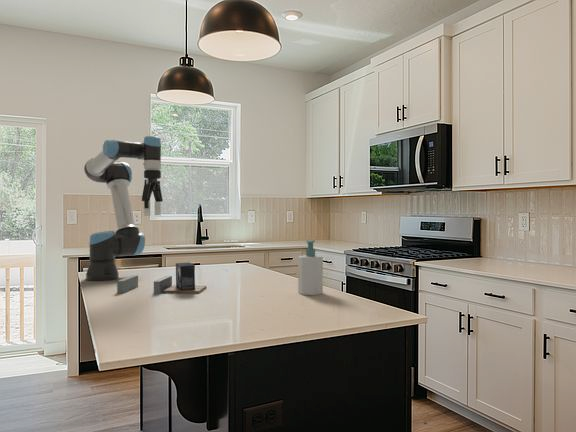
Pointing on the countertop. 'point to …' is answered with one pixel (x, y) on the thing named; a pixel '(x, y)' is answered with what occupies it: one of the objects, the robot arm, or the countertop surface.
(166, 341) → the countertop surface
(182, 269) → the small box
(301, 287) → the soap bottle
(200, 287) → the walnut pad
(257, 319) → the countertop surface
